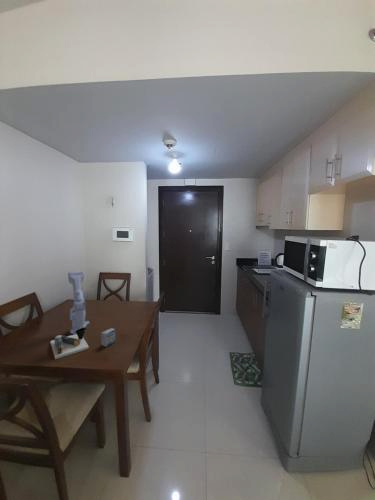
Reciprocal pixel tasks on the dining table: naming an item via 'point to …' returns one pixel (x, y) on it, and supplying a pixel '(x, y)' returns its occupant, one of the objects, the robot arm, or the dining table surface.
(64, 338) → the tongs arm
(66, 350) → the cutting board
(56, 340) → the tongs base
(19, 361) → the dining table surface
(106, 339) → the medicine box
